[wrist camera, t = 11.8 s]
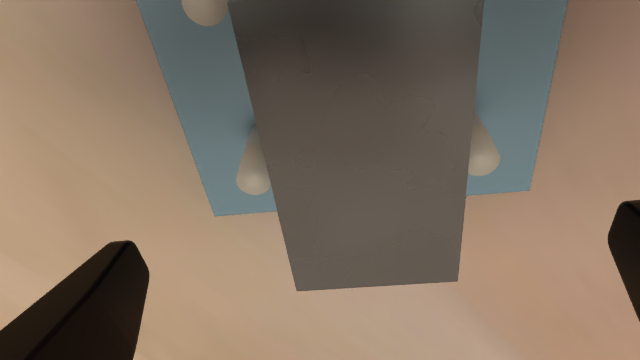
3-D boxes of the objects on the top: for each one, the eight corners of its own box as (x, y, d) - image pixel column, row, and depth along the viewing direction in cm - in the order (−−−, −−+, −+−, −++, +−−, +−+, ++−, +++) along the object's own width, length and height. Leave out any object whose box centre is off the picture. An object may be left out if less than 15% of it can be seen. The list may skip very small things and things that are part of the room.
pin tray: (600, -253, 12) (702, -288, 8) (521, 176, 20) (557, 240, 17) (91, -166, 13) (12, -168, 10) (219, 202, 21) (198, 265, 18)
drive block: (421, -86, 13) (487, -30, 7) (418, 143, 18) (457, 281, 12) (271, -65, 13) (227, 2, 8) (307, 153, 18) (296, 291, 13)
